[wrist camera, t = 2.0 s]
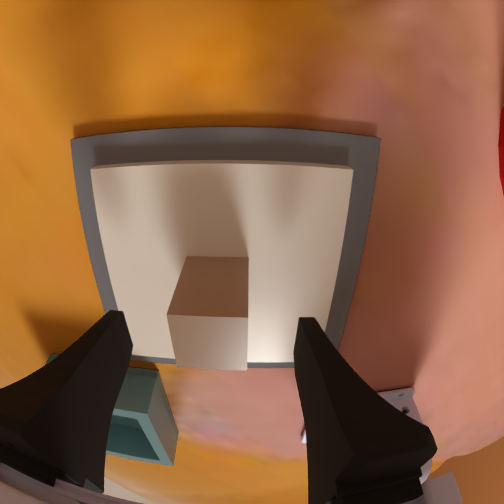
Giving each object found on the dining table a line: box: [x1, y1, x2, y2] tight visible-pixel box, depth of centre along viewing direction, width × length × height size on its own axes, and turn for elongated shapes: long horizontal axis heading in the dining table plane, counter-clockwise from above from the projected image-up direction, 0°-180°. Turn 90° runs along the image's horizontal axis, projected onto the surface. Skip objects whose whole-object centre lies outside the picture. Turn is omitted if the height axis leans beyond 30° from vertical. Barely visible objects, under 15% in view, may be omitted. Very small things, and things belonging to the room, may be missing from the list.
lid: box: [90, 160, 353, 370], centre depth 14 cm, size 12×12×5 cm
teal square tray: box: [45, 353, 179, 466], centre depth 21 cm, size 10×10×4 cm
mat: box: [71, 126, 381, 368], centre depth 16 cm, size 15×15×1 cm
